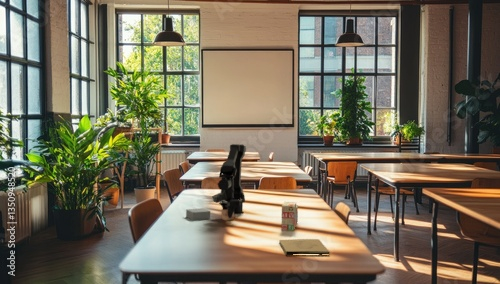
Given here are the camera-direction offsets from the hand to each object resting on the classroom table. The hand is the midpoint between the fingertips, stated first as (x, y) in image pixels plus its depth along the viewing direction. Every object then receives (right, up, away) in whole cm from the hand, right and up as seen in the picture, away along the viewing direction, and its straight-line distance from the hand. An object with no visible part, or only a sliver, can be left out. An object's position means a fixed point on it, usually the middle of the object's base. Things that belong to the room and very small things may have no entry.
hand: (227, 216), depth 266 cm
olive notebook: (+34, -5, -61) cm, 70 cm away
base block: (-16, -1, +3) cm, 16 cm away
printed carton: (+32, -3, -16) cm, 36 cm away
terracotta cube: (0, -1, 0) cm, 1 cm away
